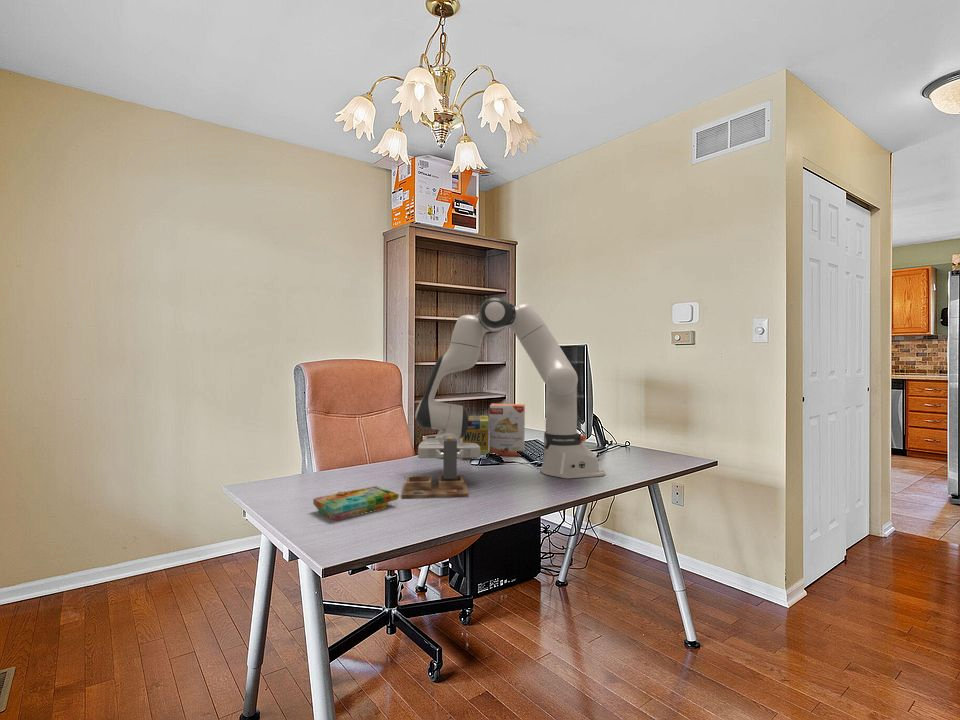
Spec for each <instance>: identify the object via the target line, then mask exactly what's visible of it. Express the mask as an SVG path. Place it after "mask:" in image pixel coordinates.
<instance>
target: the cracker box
mask: <svg viewBox="0 0 960 720" xmlns="http://www.w3.org/2000/svg"><path fill="white" fill-rule="evenodd" d="M525 405H526V404H525V403H524V404H523V403H522V404H520V403H519V404H517V403H491V404H490V405H489V447H488V454H489V453H495V454H498V455H502V456H503V457H519V458H521V457H520V455H519V454H518V453H517V451H523V450H524V451H525V430H526V428H525V425H526V424H525V423H526V421H525V418H526V417H525V414H526V411H525V410H526V407H525ZM498 455H497V456H498ZM502 456H501V457H502Z"/></svg>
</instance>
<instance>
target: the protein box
mask: <svg viewBox="0 0 960 720" xmlns="http://www.w3.org/2000/svg"><path fill="white" fill-rule="evenodd" d="M461 440H462V441H461V443H476V444H478V445H479V446H480V455H482V454H488V455H489V440H490V420H489V416H488V415H472V414H471V415H469V414H468V427H467V431H466V434H465V435H464V436H463V437H462V438H461ZM461 459H462V460H465V459H472V458H461Z"/></svg>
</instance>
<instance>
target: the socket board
mask: <svg viewBox="0 0 960 720" xmlns="http://www.w3.org/2000/svg"><path fill="white" fill-rule="evenodd" d="M469 493H470V492H469V490H468V487H467V483H466V481H465V480H464V478H463V475H462V474H457V477H456V479H444V478H443V474H442V475H438V481H432V476H431V475H409V476H408V475H407V476H406V481H405V482H403V485H402V490H401V496H400V497H401V498H402V499H430V498H429V497H442V498H468V497H469ZM401 498H400V499H401Z"/></svg>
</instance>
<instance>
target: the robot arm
mask: <svg viewBox="0 0 960 720" xmlns="http://www.w3.org/2000/svg"><path fill="white" fill-rule="evenodd" d="M456 320H457V321H456V322H455V325H454V328H453V331H452V334H451V339H450V343H449V347H448V349H447V351H446V352H445V353H444V355H440V356H439V357H438V359H437V360H436V362H435V365H434V366H433V369H432V372H431V374H430V377H429V380H428V381H427V385H426V387H425V390H424V393H423V396H422V398H421V400H420V401H419V403H418V404H417V407H416V410H415V415H414V417H415V419H414V420H415V422H416V423H417V425H418V426H419V427H420V428H421V429H427V430H428V429H430V430H431V429H433V430H438V433H436V435H435V436H428V437H423V439H422V441H421V442H420V443H419V444H418V449H417V450H418V451H417V457H418V459H438V460H443V459H444V439H447V437H453V438H456V440H457V459H462V458H477V457H480V446H479V445H478V444H476V443H462V441H461V439H462V437H463V436H464V435H465V434H466V431H467V427H468V415H469V413H468V411H467V409H466V408H465V407H464V405H460V404H454V403H449V402H448V403H447V402H442V401H441V402H440V401H437V400H436V399H435V396H436V394H437V392H438V388H439V386H440V383H441V381H442V380H443V378H444V377H445V376H447V375H449V374H452V373H457V372H463V371H466V370H469V369H471V368H473V367H474V366H475V365H476V364H477V363H478V360H479V357H480V354H481V349H482V344H483V338H484V337H485V335H487V334H494V333H499V332H501V331H503V330H504V329H505V328H507V329H510V330H511V331H512V332H513V333H514V334H515V336H516V338H517V339H518V340H519V343H520V345H521V346H522V347H523V349H524V351H525V352H526V353H527V356H528V357H529V358H530V360H531V361H532V363H533V365H534V367H535V368H536V369H535V370H536V371H537V372H538V374H539V375H540V377H541V379H542V380H543V383H544V384H545V431H544V433H543V434H544V436H543V446H544V447H543V448H544V451H543V452H544V453H543V460H542V461H543V462H542V465H541V468H540V472H541V474H545V475H547V476H552V477H558V478H562V479H579V478H591V477H593V478H594V477H603V476H606V470H605V469H604V468H602V467H601V466H599V460H598V457H597V454H595V453H594V452H593V451H592V450H591V449H590V448H588V447H587V446H586V445H584V444H583V442H586V441H587V437H586V436H585V435H583V434H580V433H579V432H578V430H577V429H578V399H577V398H578V397H577V396H578V393H577V391H578V389H577V388H578V386H577V385H578V382H579V377H578V374H577V373H578V372H576V370H575V368H574V367H573V366H572V363H571V362H570V360H569V359H568V357H567V356H566V354H565V353H564V351H563V349H562V348H561V346H560V345H559V343H558V341H557V340H556V338H555V337H554V335H553V334H552V332H551V331H550V329H549V327H548V325H546V323H545V321H544V320H543V318H542V317H541V316H540V314H539V313H538V312H537V311H536V310H535V308H533V307H532V305H530V304H529V303H525V302H524V303H519V304H517V305H513V304H512V303H510V302H508V301H506V300H505V299H502V298H500V297H490V298H488V299H485V300H484V301H483V302H482V304H481V305H480V307H479V311H478V313H477V314H464V315H460V316H459V317H458V319H456Z"/></svg>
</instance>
